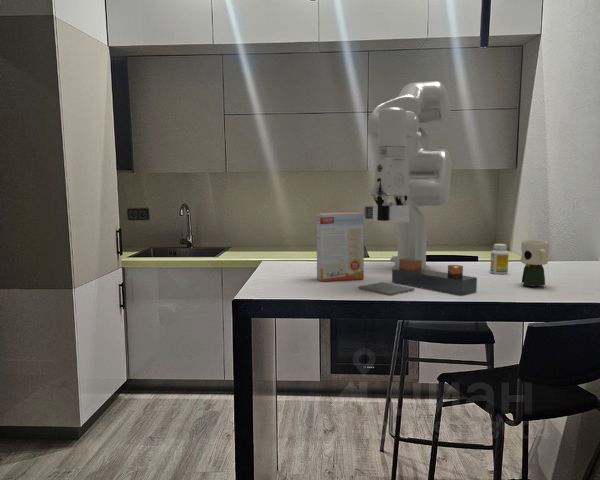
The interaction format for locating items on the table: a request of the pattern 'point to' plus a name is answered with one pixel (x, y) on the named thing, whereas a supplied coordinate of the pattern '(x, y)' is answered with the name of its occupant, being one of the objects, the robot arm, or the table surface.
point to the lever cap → (393, 213)
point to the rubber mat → (386, 288)
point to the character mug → (534, 261)
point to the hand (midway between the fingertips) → (390, 219)
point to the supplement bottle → (499, 259)
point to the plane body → (434, 278)
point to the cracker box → (340, 246)
